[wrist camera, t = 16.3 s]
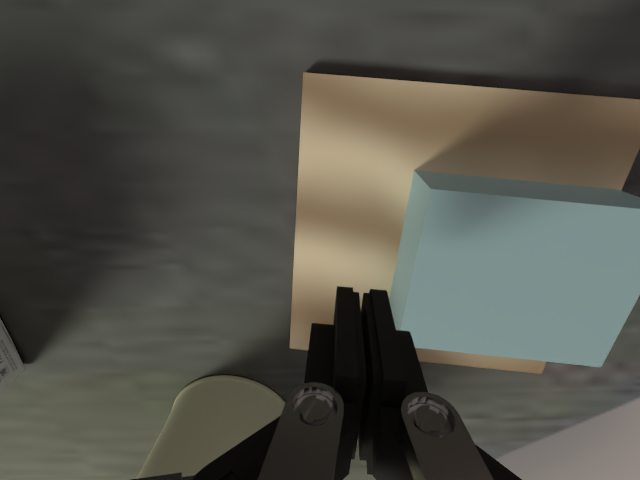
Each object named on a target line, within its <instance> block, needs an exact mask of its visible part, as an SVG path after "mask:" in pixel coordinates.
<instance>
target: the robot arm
mask: <svg viewBox="0 0 640 480" xmlns="http://www.w3.org/2000/svg"><path fill="white" fill-rule="evenodd" d="M357 439H359V457H360V460H366V461H367V474H371V475H373V476H374V478H375V479H376V480H521V479H520V478H519V477H517V476H516V475H515V474H514V473H512V472H511V471H510V470H508V469H507V468H506V467H504V466H503V465H502V464H500V463H499V462H498V461H496V460H495V459H494V458H492V457H491V456H490V455H489V454H487V453H486V452H485V451H483V450H482V449H481V448H479V447H478V446H477V445H475V444H474V442H473V440H472V438H471V436H470V434H469V432H468V431H467V429H466V427H465V425H464V423H463V421H462V419H461V417H460V415H459V414H458V412H457V411H456V410H455V408H454V407H453V406H452V405H451V404H450V403H449V402H448V401H446V400H445V399H443V398H441V397H440V396H438V395H435V394H432V393H428V391H427V388H426V384H425V381H424V377H423V374H422V370H421V367H420V363H419V360H418V356H417V353H416V349H415V346H414V343H413V339H412V336H411V333H410V332H409V331H402V330H396V328H395V323H394V319H393V315H392V310H391V306H390V302H389V297H388V293H387V290H377V289H370V291H369V293H363V299H362V307H361V308H360V297H359V292H353V287H340V286H337V291H336V301H335V312H334V322H333V325H331V324H320V323H312V325H311V332H310V341H309V349H308V357H307V365H306V373H305V381H304V384H302V385H300V386H298V387H296V388H295V389H294V390H293V391H291V392H290V394H289V396H288V398H287V400H286V402H285V405H284V408H283V411H282V413H281V415H280V416H279V417H278V418H276V419H275V420H273V421H272V422H270V423H269V424H267V425H266V426H264V427H263V428H261V429H260V430H258V431H257V432H255V433H254V434H252V435H251V436H249V437H248V438H246V439H245V440H243V441H242V442H240V443H239V444H237V445H236V446H234V447H233V448H231V449H230V450H228V451H227V452H225V453H224V454H222V455H221V456H219V457H218V458H216V459H215V460H213V461H212V462H210V463H209V464H207V465H206V466H205V467H204V468H202V469H201V470H200V471H199V472H198V473H197V474H196V475H193V476H186V477H182V472H180V473H173V474H166V475H159V476H153V477H146V478H139V479H132V480H343V479H344V478H345V477H346V476H347V475H348V474H349V469H350V462H351V459H354V458H355V452H356V445H357Z"/></svg>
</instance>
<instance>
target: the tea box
mask: <svg viewBox="0 0 640 480" xmlns="http://www.w3.org/2000/svg"><path fill="white" fill-rule="evenodd" d="M24 370H25V367H24V365H23V363H22V360H21V358H20V356H19V354H18V352H17V350H16V348H15V346H14V343H13V341H12V339H11V337H10V336H9V334H8V332H7V330H6V328H5V326H4V324H3V322H2V320H1V318H0V391H1V390H2V389H3V388H4V387H6V386H7V385H8V384H9V383H10V382H12V381H13V380H14V379H15V378H16V377H17V376H19V375H20V374H21V373H22V372H23V371H24Z"/></svg>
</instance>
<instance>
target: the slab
mask: <svg viewBox="0 0 640 480" xmlns="http://www.w3.org/2000/svg"><path fill="white" fill-rule="evenodd" d="M639 295H640V197H637V196H634V195H632V194H629V193H626V192H623V191H620V190H618V189H609V188H598V187H587V186H577V185H566V184H555V183H545V182H534V181H524V180H513V179H502V178H492V177H481V176H470V175H460V174H449V173H438V172H428V171H417V170H414V172H413V178H412V183H411V188H410V193H409V199H408V204H407V209H406V214H405V219H404V225H403V230H402V235H401V240H400V246H399V251H398V256H397V261H396V266H395V272H394V277H393V282H392V287H391V292H390V298H389V302H390V306H391V310H392V315H393V319H394V323H395V328H396V330H402V331H409V332H410V333H411V336H412V339H413V343H414V346H415V348H423V349H433V350H442V351H452V352H461V353H471V354H480V355H490V356H500V357H509V358H519V359H528V360H538V361H547V362H557V363H566V364H576V365H585V366H595V367H601V366H602V365H603V363H604V361H605V359H606V357H607V355H608V353H609V351H610V350H611V348H612V346H613V344H614V342H615V340H616V338H617V336H618V334H619V333H620V331H621V329H622V327H623V325H624V323H625V321H626V319H627V318H628V316H629V314H630V312H631V310H632V308H633V306H634V304H635V303H636V301H637V299H638V297H639Z"/></svg>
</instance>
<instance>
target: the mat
mask: <svg viewBox="0 0 640 480" xmlns="http://www.w3.org/2000/svg"><path fill="white" fill-rule="evenodd" d="M639 149H640V99H628V98H615V97H603V96H591V95H578V94H566V93H553V92H541V91H528V90H516V89H504V88H491V87H479V86H466V85H454V84H441V83H429V82H417V81H404V80H392V79H379V78H367V77H354V76H342V75H330V74H317V73H305V72H303V89H302V109H301V129H300V149H299V169H298V189H297V209H296V229H295V249H294V269H293V290H292V310H291V330H290V348H291V349H301V350H308V349H309V341H310V332H311V325H312V323H320V324H331V325H333V322H334V312H335V301H336V291H337V286H340V287H353V292H359V297H360V308H361V307H362V299H363V293H369V291H370V289H377V290H387V293H388V297H389V298H390V292H391V287H392V282H393V277H394V272H395V266H396V261H397V256H398V251H399V246H400V240H401V235H402V230H403V225H404V219H405V214H406V209H407V204H408V199H409V193H410V188H411V183H412V178H413V172H414V170H417V171H428V172H438V173H449V174H460V175H470V176H481V177H492V178H502V179H513V180H524V181H534V182H545V183H555V184H566V185H577V186H587V187H598V188H609V189H618V190H620V191H621V190H622V188H623V186H624V183H625V181H626V179H627V176H628V174H629V172H630V169H631V167H632V165H633V163H634V160H635V158H636V156H637V153H638V151H639ZM415 349H416V353H417V356H418V360H419V361H421V362H431V363H441V364H451V365H461V366H471V367H480V368H490V369H500V370H510V371H520V372H530V373H540V374H542V371H543V369H544V367H545V364H546V362H547V361H538V360H528V359H519V358H509V357H500V356H490V355H480V354H471V353H461V352H452V351H442V350H433V349H423V348H415Z"/></svg>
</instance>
